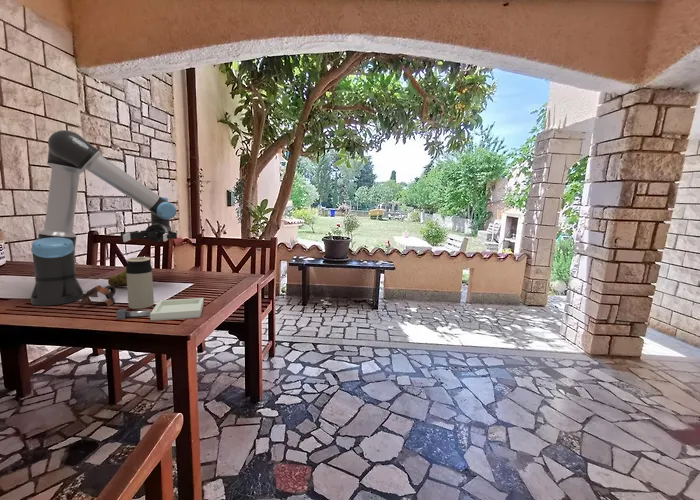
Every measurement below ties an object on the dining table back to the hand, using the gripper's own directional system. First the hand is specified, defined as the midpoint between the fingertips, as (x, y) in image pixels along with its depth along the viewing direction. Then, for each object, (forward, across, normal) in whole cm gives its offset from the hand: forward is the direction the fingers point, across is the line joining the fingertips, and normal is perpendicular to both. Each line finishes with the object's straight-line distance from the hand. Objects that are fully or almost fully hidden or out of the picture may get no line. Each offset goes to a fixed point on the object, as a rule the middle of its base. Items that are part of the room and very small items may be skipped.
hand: (144, 238), depth 129 cm
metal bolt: (+22, -1, -24) cm, 33 cm away
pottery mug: (+3, +15, -24) cm, 29 cm away
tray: (+20, -14, -24) cm, 34 cm away
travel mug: (+10, 0, -24) cm, 26 cm away
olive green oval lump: (-21, +13, -24) cm, 35 cm away
